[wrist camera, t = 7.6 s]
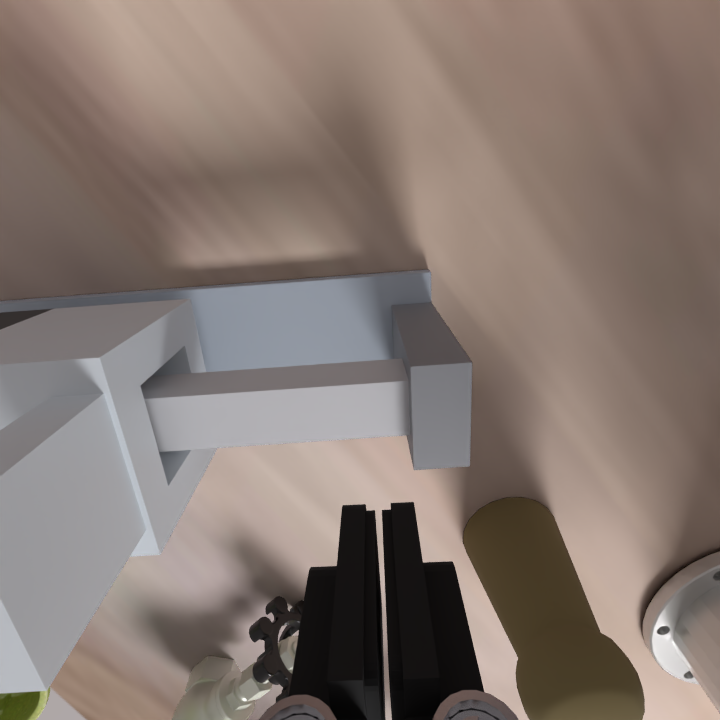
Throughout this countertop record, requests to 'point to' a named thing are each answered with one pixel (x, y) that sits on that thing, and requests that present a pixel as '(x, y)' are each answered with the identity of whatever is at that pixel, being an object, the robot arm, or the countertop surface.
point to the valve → (240, 689)
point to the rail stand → (310, 366)
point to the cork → (549, 617)
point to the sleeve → (83, 469)
